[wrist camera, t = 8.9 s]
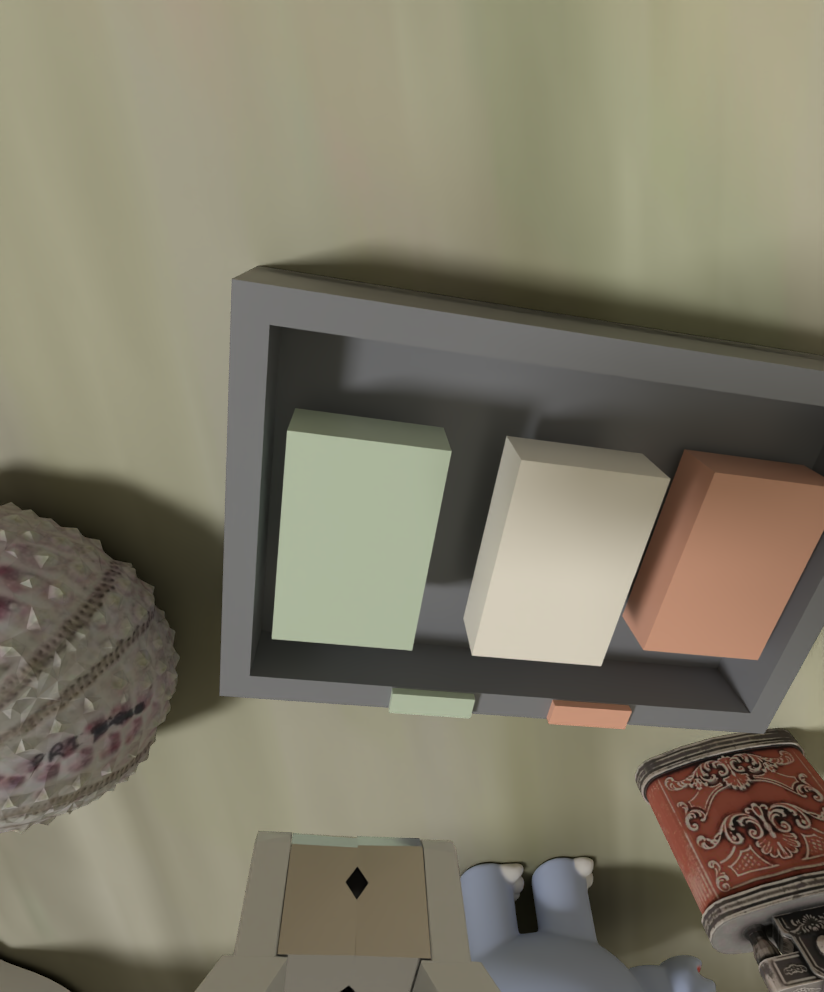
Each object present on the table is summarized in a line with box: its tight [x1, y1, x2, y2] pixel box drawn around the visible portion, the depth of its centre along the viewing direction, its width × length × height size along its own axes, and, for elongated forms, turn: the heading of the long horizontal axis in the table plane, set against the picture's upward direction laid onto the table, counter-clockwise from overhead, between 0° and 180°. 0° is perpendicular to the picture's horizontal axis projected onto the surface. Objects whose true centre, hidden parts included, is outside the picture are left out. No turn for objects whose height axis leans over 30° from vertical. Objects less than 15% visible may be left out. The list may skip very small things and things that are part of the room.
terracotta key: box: [622, 449, 824, 660], centre depth 21 cm, size 4×7×2 cm, turn 171°
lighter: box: [635, 728, 824, 992], centre depth 26 cm, size 8×3×10 cm, turn 105°
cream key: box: [463, 436, 670, 666], centre depth 19 cm, size 4×7×2 cm, turn 171°
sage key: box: [272, 408, 452, 651], centre depth 19 cm, size 4×7×2 cm, turn 171°
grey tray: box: [219, 266, 824, 734], centre depth 21 cm, size 21×14×4 cm, turn 81°
